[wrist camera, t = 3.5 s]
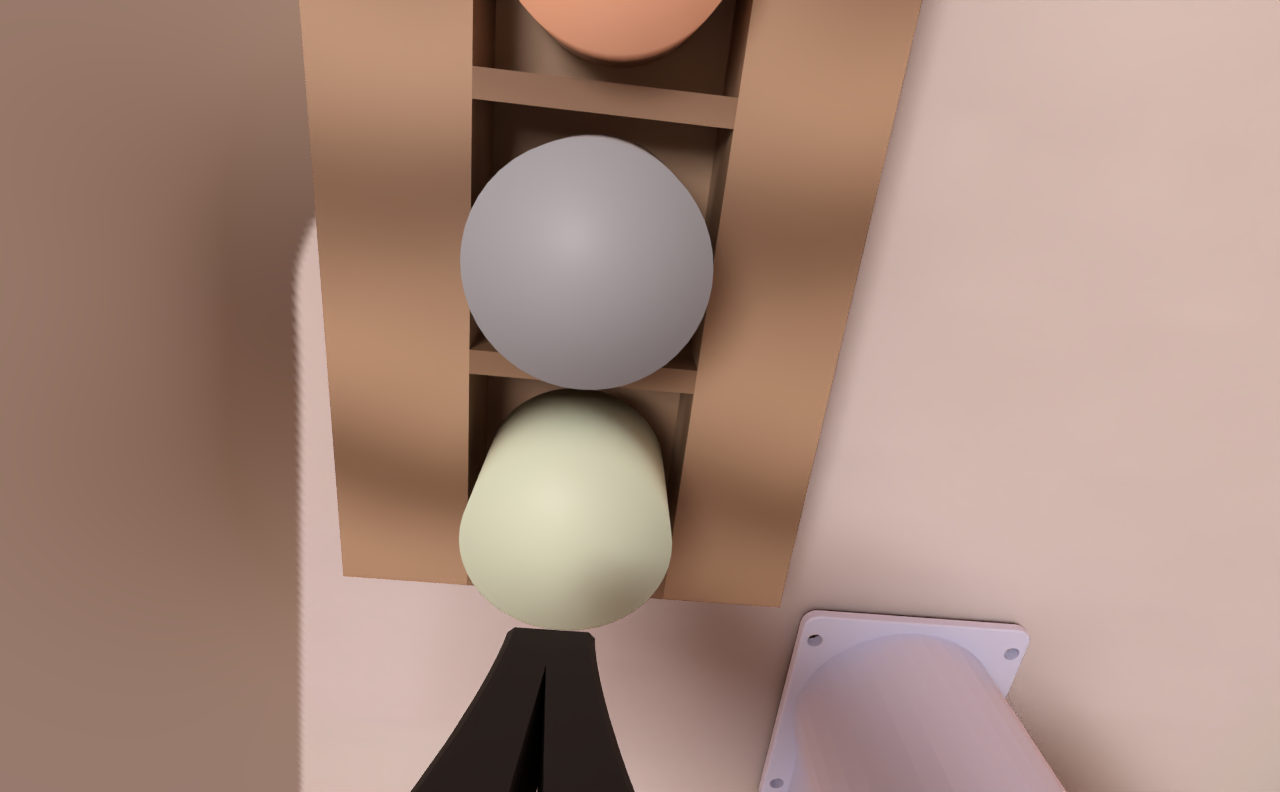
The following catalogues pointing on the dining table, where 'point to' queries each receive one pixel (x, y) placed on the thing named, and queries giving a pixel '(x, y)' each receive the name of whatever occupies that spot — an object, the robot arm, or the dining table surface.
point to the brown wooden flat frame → (701, 160)
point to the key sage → (569, 513)
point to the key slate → (587, 262)
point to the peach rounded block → (620, 27)
